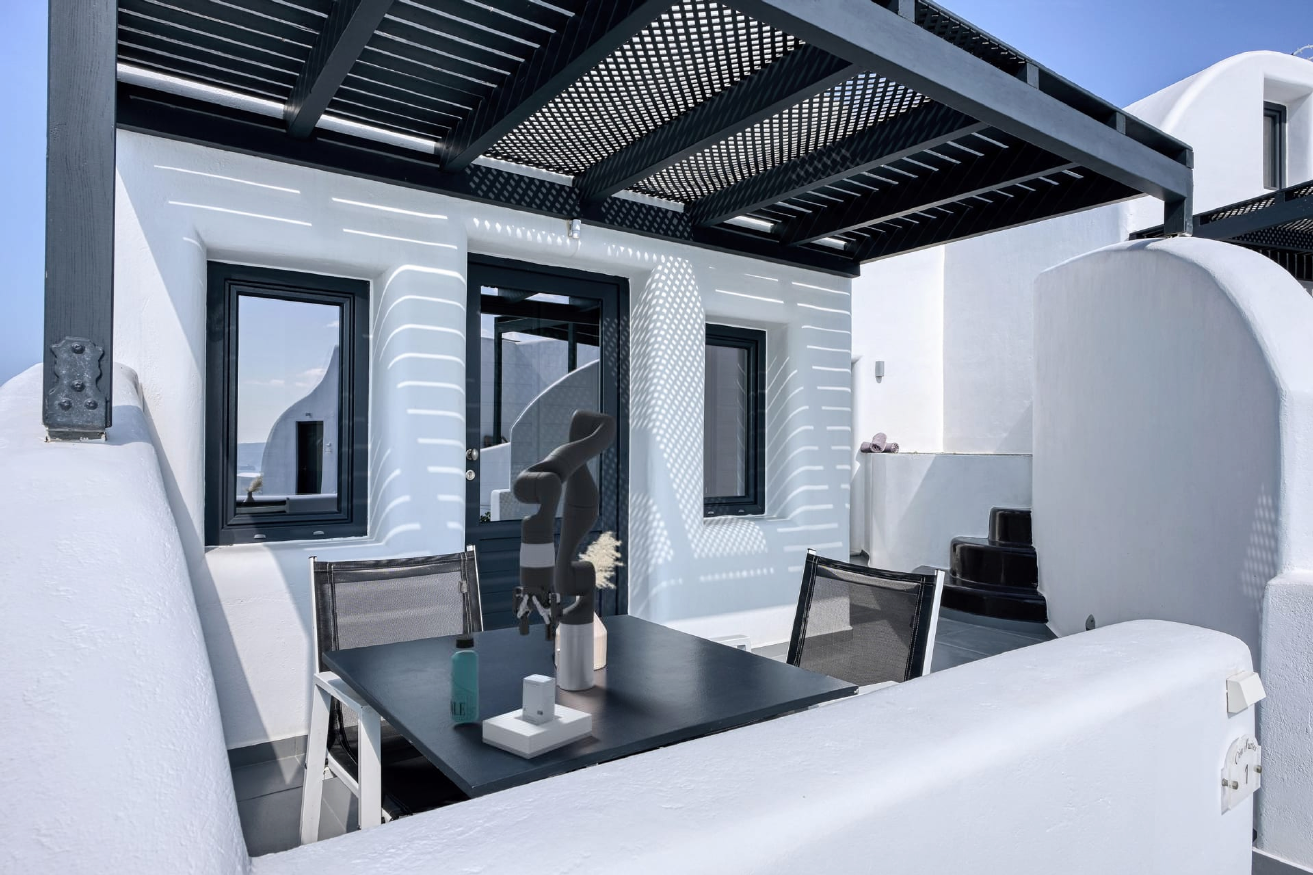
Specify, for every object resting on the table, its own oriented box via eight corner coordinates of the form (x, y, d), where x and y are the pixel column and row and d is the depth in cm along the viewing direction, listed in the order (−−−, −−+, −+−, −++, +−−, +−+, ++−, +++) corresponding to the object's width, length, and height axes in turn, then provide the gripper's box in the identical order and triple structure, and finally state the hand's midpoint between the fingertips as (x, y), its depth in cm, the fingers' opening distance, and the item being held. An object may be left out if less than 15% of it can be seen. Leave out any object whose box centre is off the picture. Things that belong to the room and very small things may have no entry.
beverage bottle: (481, 720, 183) (482, 633, 184) (476, 729, 177) (476, 640, 177) (453, 720, 183) (454, 634, 184) (447, 730, 177) (447, 640, 177)
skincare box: (520, 734, 171) (520, 678, 171) (534, 728, 175) (534, 673, 175) (542, 739, 168) (542, 682, 168) (556, 733, 171) (556, 677, 172)
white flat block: (482, 741, 169) (482, 720, 169) (546, 720, 183) (546, 701, 183) (528, 759, 159) (528, 736, 160) (591, 735, 173) (591, 714, 173)
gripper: (572, 564, 170) (572, 640, 170) (529, 558, 180) (529, 630, 179) (545, 568, 165) (545, 646, 164) (503, 562, 174) (502, 636, 174)
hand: (537, 637), depth 172 cm, fingers open, 8 cm apart
